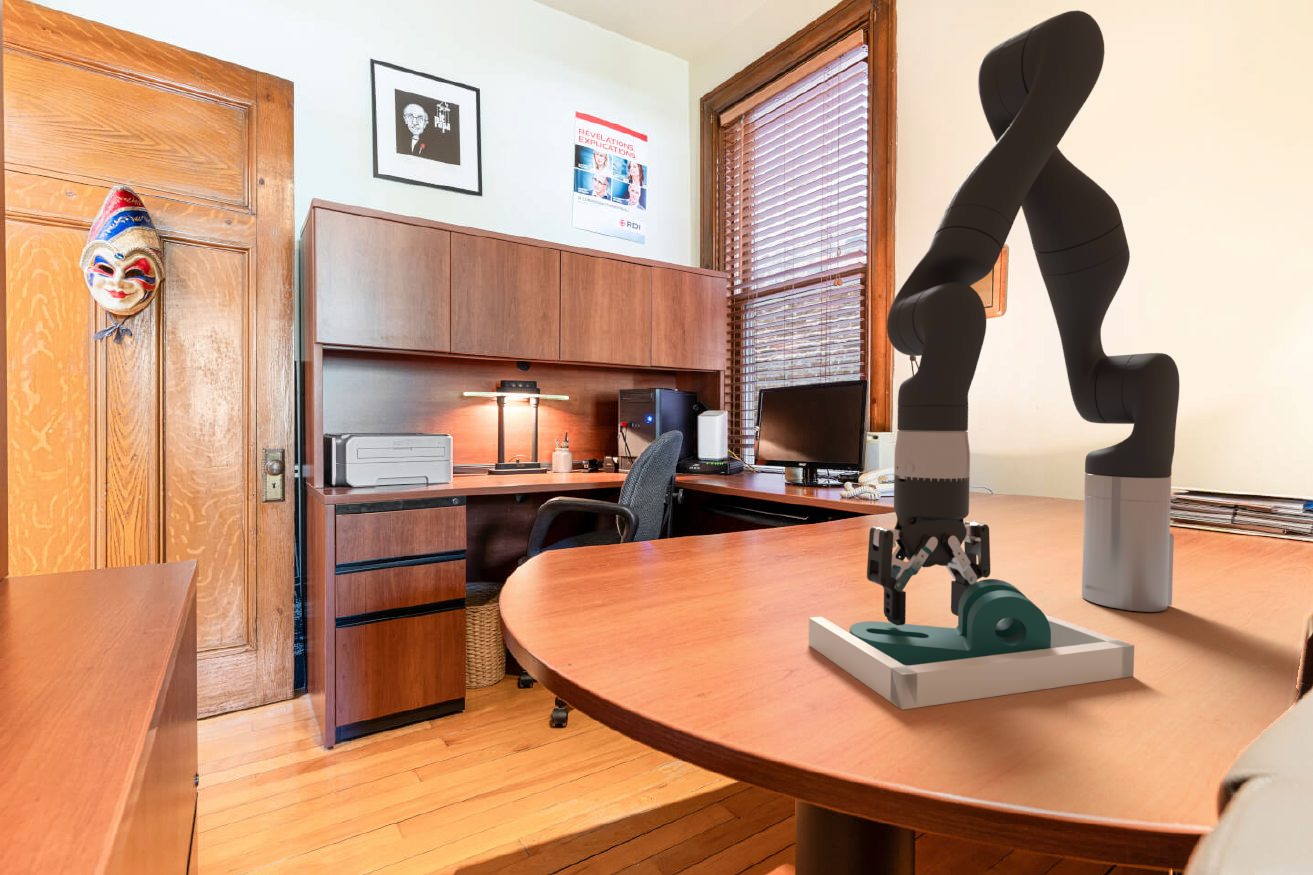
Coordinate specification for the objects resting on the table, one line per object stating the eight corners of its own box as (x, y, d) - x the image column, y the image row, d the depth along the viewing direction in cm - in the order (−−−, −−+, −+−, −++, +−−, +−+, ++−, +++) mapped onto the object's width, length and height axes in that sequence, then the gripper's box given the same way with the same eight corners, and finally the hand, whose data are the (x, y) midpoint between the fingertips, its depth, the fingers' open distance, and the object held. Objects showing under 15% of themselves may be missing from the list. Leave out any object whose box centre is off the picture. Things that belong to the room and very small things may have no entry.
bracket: (1027, 655, 65) (1029, 581, 65) (1049, 682, 59) (1051, 599, 58) (848, 638, 70) (849, 569, 70) (850, 661, 63) (851, 584, 63)
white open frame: (1002, 624, 74) (1003, 599, 74) (1133, 676, 59) (1134, 645, 59) (808, 644, 67) (808, 617, 67) (901, 709, 52) (902, 674, 52)
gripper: (958, 468, 73) (956, 604, 74) (854, 471, 69) (852, 614, 70) (1011, 474, 66) (1008, 624, 66) (898, 477, 62) (895, 637, 62)
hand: (928, 619), depth 68 cm, fingers open, 8 cm apart
